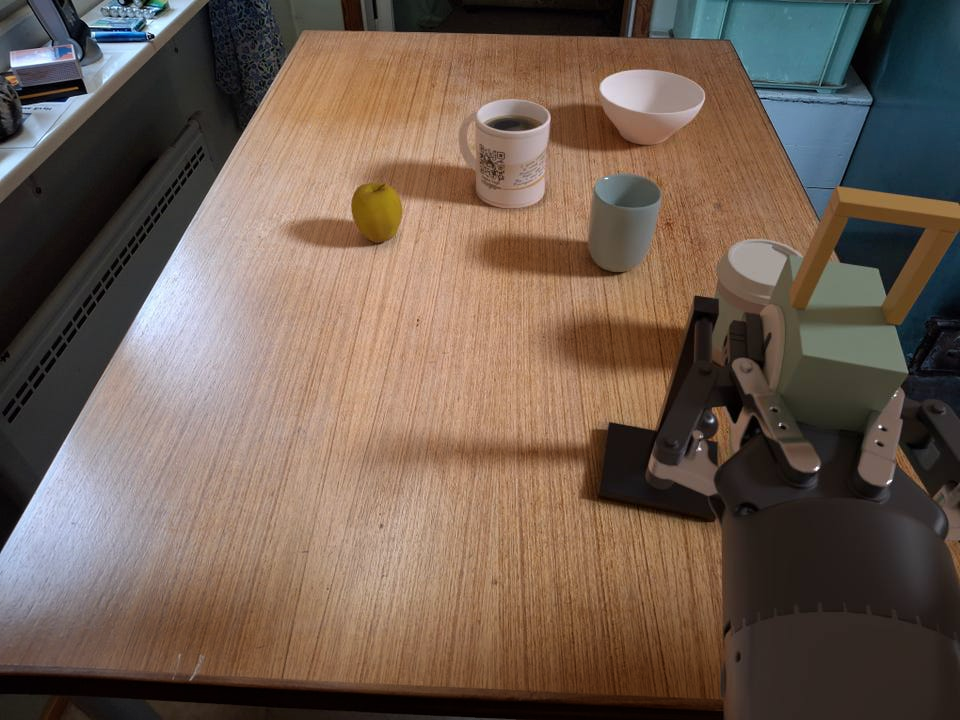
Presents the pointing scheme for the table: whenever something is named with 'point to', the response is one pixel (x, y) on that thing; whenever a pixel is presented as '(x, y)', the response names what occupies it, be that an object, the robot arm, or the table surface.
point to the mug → (508, 152)
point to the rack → (635, 445)
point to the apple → (376, 211)
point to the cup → (622, 220)
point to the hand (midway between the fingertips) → (798, 334)
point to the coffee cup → (746, 283)
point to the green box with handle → (848, 313)
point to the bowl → (649, 103)
